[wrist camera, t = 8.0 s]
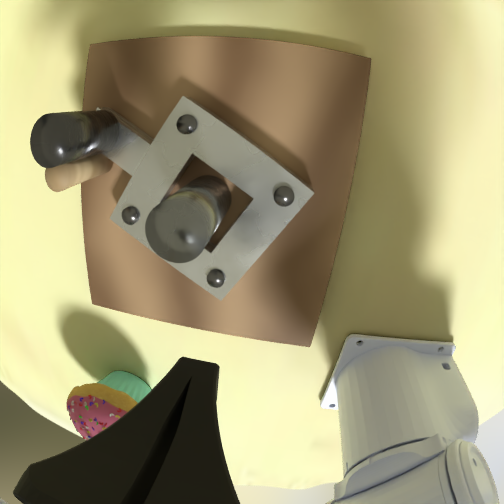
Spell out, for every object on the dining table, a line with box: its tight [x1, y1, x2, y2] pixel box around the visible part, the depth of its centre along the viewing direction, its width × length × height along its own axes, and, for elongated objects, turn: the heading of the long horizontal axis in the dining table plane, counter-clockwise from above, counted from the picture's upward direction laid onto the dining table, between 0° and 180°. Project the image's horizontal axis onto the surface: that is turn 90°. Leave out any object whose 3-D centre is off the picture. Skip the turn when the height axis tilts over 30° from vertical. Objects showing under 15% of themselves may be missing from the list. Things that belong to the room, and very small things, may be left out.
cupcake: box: [67, 371, 151, 440], centre depth 21 cm, size 9×8×12 cm
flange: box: [30, 96, 314, 301], centre depth 14 cm, size 12×8×6 cm, turn 53°
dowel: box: [45, 153, 113, 192], centre depth 15 cm, size 2×2×4 cm
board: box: [81, 36, 371, 347], centre depth 18 cm, size 16×18×1 cm
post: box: [145, 175, 231, 263], centre depth 15 cm, size 3×3×6 cm
